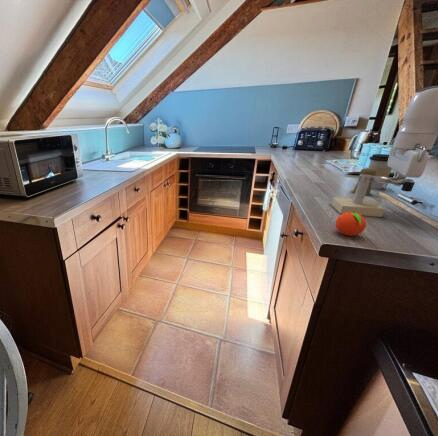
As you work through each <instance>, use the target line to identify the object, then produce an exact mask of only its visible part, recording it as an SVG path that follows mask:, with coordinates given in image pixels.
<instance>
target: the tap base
mask: <svg viewBox="0 0 438 436" xmlns="http://www.w3.org/2000/svg"><path fill="white" fill-rule="evenodd" d="M368 185H369V182H361V181H359V183H358V186H357V189H356V192H355V194H354V195H353V198H348V197H332V200H331V203H330V205H331V207H333V208H334V209H335V210H336V211H337V212H338V213H339V214H340V215H341V214H343V213H347V212H355V213H358V214H360V215H361V216H363V217H364V216H366V217H376V218H382V217H383V214H384V212H385V210H386V209H385V208H384V207H382V206H381V205H379V204H378V203H377V202H375V201H374V200H372V199H366V195H365V194H366V191H367V188H368Z"/></svg>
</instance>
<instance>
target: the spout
mask: <svg viewBox="0 0 438 436" xmlns="http://www.w3.org/2000/svg"><path fill="white" fill-rule="evenodd" d="M358 181H361V182H379V183H384V184H388V185H389V184H390V185H394V184H399V185H401V189H400V190H401V191H402V192H408V193H409V192H412V191H413V189H414V186H415V184H416V182H415V180H414V179H413V178H405V179H402V178H394V177H390V176H388V177H379V176H372V175H367V174H360V173H359V175H358V179H357V182H358Z"/></svg>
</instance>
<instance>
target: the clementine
mask: <svg viewBox="0 0 438 436" xmlns="http://www.w3.org/2000/svg"><path fill="white" fill-rule="evenodd" d="M335 228H336V230H337V231H338V232H339V233H341V234H342V235H344V236H350V237H354V236H357V235H360V234H361V233H363V232H364V230H365V229H366V228H367V221H366V219H365V217H364V216H363V215H360V214H358V213H355V212H347V213H343V214H340V215H339V216H337V218H336V219H335Z"/></svg>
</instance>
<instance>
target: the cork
mask: <svg viewBox="0 0 438 436" xmlns="http://www.w3.org/2000/svg"><path fill="white" fill-rule="evenodd" d="M360 174H367V175H372V176H375V175H376V170H375V169H371V168H369V167H366V168H362V169H361V170H360V171H359V175H360ZM358 183H359V181H358V180H357V182H356V184H355V186H354V188H353V190H352V193H353V194H354V195H355V192H356V189H357V186H358ZM371 185H372V182H369V185H368V188H367V191H366V194H365V196H370V195H371V191H372V189H371Z"/></svg>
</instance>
